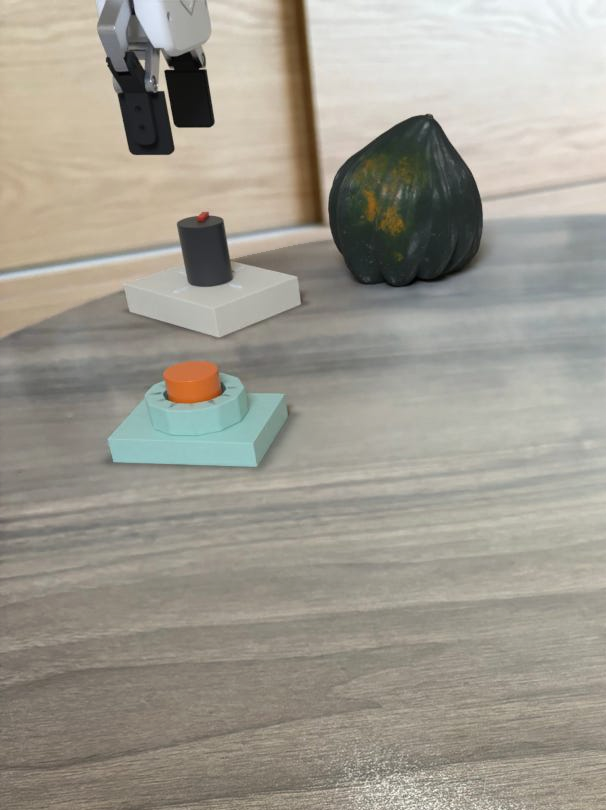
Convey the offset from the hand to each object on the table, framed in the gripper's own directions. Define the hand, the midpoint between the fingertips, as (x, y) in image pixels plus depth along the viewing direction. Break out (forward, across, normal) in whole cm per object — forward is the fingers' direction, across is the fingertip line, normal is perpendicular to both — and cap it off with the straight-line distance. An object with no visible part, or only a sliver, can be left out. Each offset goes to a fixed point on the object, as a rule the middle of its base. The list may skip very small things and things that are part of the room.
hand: (174, 139), depth 78 cm
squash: (+16, +20, -14) cm, 29 cm away
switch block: (+16, -18, -5) cm, 25 cm away
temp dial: (+13, +8, +2) cm, 16 cm away
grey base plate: (+16, +8, +2) cm, 18 cm away
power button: (+12, -18, -5) cm, 23 cm away
